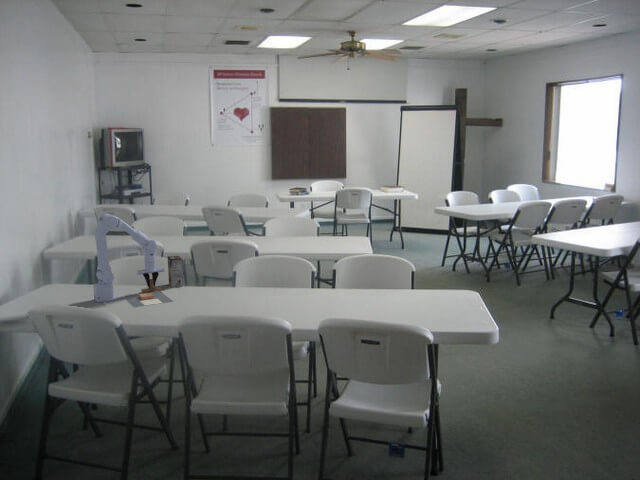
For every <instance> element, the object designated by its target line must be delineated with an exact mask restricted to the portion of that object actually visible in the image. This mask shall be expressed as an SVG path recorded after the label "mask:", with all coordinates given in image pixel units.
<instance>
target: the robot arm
mask: <svg viewBox="0 0 640 480" xmlns="http://www.w3.org/2000/svg"><path fill="white" fill-rule="evenodd" d="M114 228H117V229H118V228H119V229H122V230H123V231H125V232H126V233H127V234H129V235H130V236H131V239H132V240H133V241H134V242H135V243H136V244H139V245H140V246H141V247H142V248H143V249H144V250H143V253H144V258H143V259H144V269H140V270H136V276H140V275H143V277H144V280H145V282H146V285H147V287H148V288H149V287H150V279H153V280H154V287H156V283H157V279H158V277H159V275H160V274H159V273H165V272H166V271H165V267H157V262H156V261H157V260H156V250H157V247H158V245H157V243H156V242H155V240H152V239H151V237H150V236H147V235H146V234H145V232H144V231H142V230H141V231H140V230H135V229H134V228H133V227H132V226H130V225H129V224H127V222H125V220H122V219H120V218H119V217H117V216H116V215H112V214H110V213H103V214H102V215H101V216H100V217H99V218H98V222H97V224H96V226H95V229H94V237H95V238H94V239H95V247H96V254H97V262H98V263H97V264H98V265H97V267H96V269H97V271H96V273H95V274H96V278H97V279H98V281H97V283H94V284H93V300H94V301H96V303H103V302H107V301H113V300H116V297H115V296H114V279H115V274H114V273H113V271H112V267H111V264H110V261H109V251H108V243H107V236H106V235H107V233H109V232H110V230H112V229H114ZM150 274H151V275H150ZM150 277H152V278H150Z"/></svg>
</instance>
